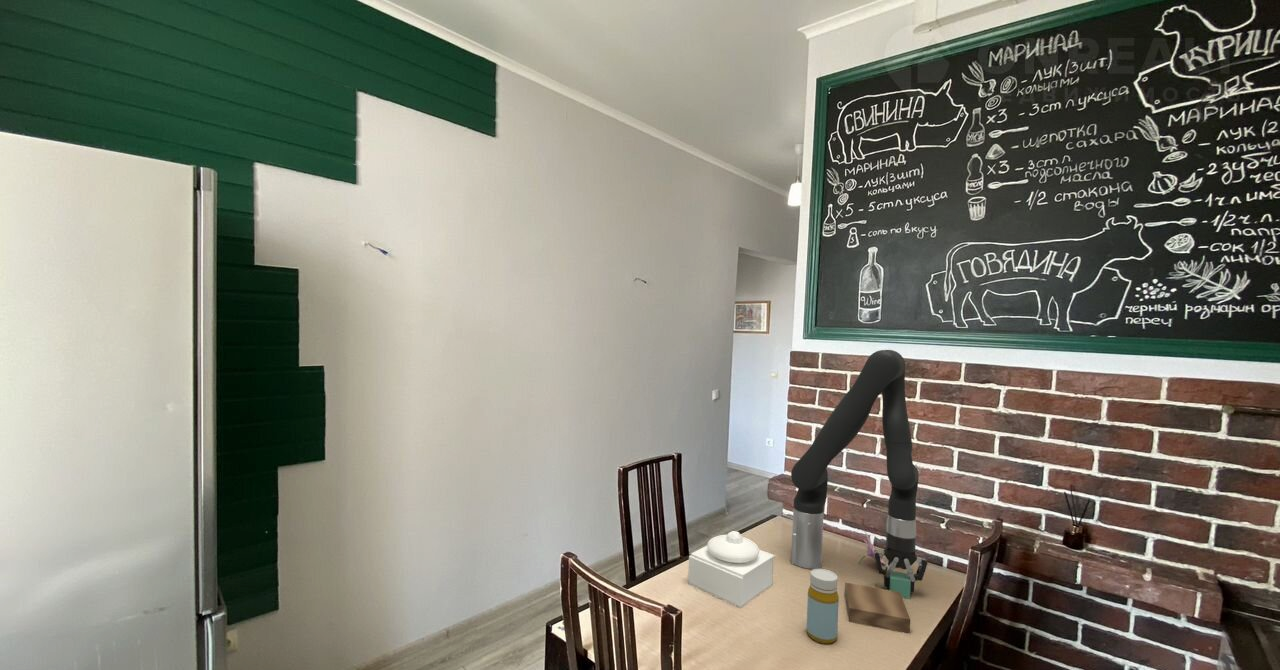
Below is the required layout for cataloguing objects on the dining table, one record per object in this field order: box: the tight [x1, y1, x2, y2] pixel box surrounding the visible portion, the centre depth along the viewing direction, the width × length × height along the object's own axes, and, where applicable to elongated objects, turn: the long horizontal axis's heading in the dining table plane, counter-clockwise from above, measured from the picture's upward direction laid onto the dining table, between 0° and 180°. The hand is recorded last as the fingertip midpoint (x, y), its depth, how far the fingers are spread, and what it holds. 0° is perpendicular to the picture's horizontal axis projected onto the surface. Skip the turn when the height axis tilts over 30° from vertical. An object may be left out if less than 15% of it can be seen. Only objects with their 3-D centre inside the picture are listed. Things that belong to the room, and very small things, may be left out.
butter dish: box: [687, 530, 776, 609], centre depth 145 cm, size 18×18×16 cm
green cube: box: [890, 570, 911, 600], centre depth 144 cm, size 5×5×5 cm
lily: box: [857, 530, 886, 569], centre depth 161 cm, size 12×12×10 cm
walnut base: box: [844, 581, 911, 634], centre depth 133 cm, size 14×14×4 cm
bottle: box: [806, 568, 840, 645], centre depth 122 cm, size 7×7×15 cm
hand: (898, 590), depth 144 cm, fingers closed on green cube, 5 cm apart
